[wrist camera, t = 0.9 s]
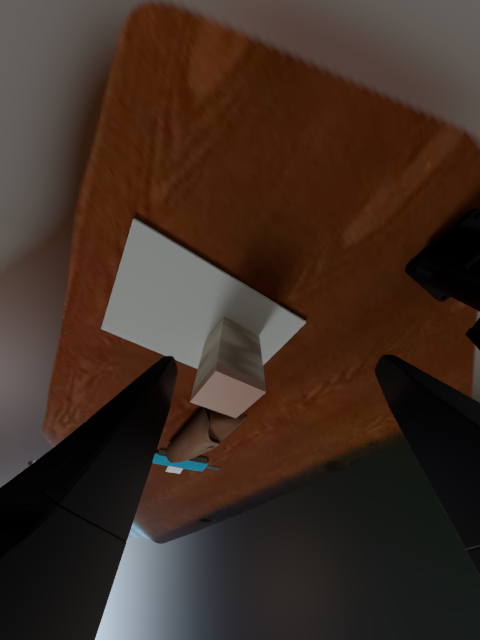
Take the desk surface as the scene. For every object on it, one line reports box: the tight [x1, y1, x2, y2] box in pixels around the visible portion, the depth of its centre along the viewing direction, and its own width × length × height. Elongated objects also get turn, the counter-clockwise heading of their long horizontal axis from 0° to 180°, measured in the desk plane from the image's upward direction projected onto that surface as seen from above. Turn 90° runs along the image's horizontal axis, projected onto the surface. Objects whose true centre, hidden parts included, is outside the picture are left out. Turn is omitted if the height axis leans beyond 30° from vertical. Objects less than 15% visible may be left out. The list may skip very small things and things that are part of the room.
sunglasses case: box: [166, 407, 247, 463], centre depth 36 cm, size 18×7×7 cm
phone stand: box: [152, 450, 220, 474], centre depth 45 cm, size 20×12×2 cm, turn 67°
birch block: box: [190, 317, 266, 418], centre depth 21 cm, size 5×5×8 cm
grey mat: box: [101, 218, 306, 369], centre depth 23 cm, size 20×14×1 cm
